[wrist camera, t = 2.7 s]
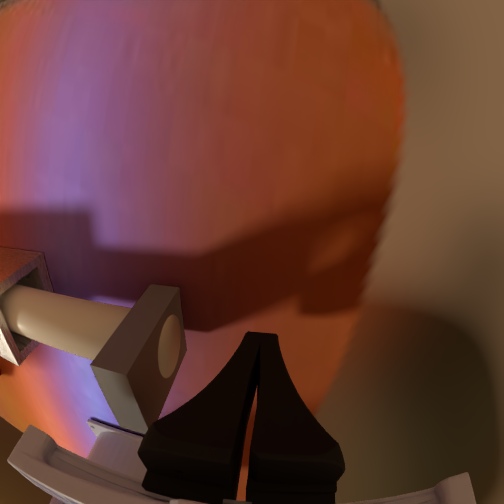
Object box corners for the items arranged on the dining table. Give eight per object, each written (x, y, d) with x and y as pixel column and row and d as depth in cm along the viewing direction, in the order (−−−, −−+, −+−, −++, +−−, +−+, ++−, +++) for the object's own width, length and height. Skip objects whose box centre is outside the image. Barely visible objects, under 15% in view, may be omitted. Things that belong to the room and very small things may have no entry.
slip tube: (179, 287, 14) (126, 374, 8) (186, 349, 15) (151, 436, 10) (-43, 251, 16) (-85, 280, 10) (-30, 290, 17) (-68, 322, 12)
